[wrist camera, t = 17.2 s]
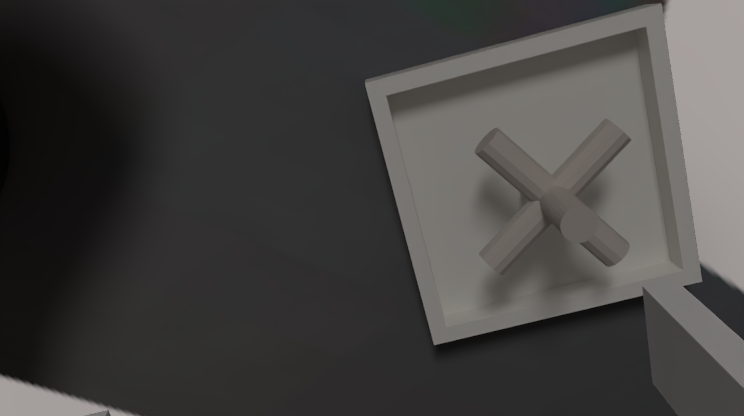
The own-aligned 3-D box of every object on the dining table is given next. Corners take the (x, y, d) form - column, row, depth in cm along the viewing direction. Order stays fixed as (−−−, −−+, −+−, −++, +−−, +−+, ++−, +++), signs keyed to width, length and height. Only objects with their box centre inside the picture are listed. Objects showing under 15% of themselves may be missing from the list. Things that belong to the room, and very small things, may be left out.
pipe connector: (419, 187, 42) (432, 236, 33) (529, 62, 40) (578, 75, 31) (535, 284, 44) (580, 358, 34) (647, 169, 42) (728, 213, 32)
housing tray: (431, 328, 45) (434, 345, 43) (365, 79, 41) (364, 83, 39) (684, 267, 44) (702, 281, 42) (644, 4, 40) (661, 3, 38)
